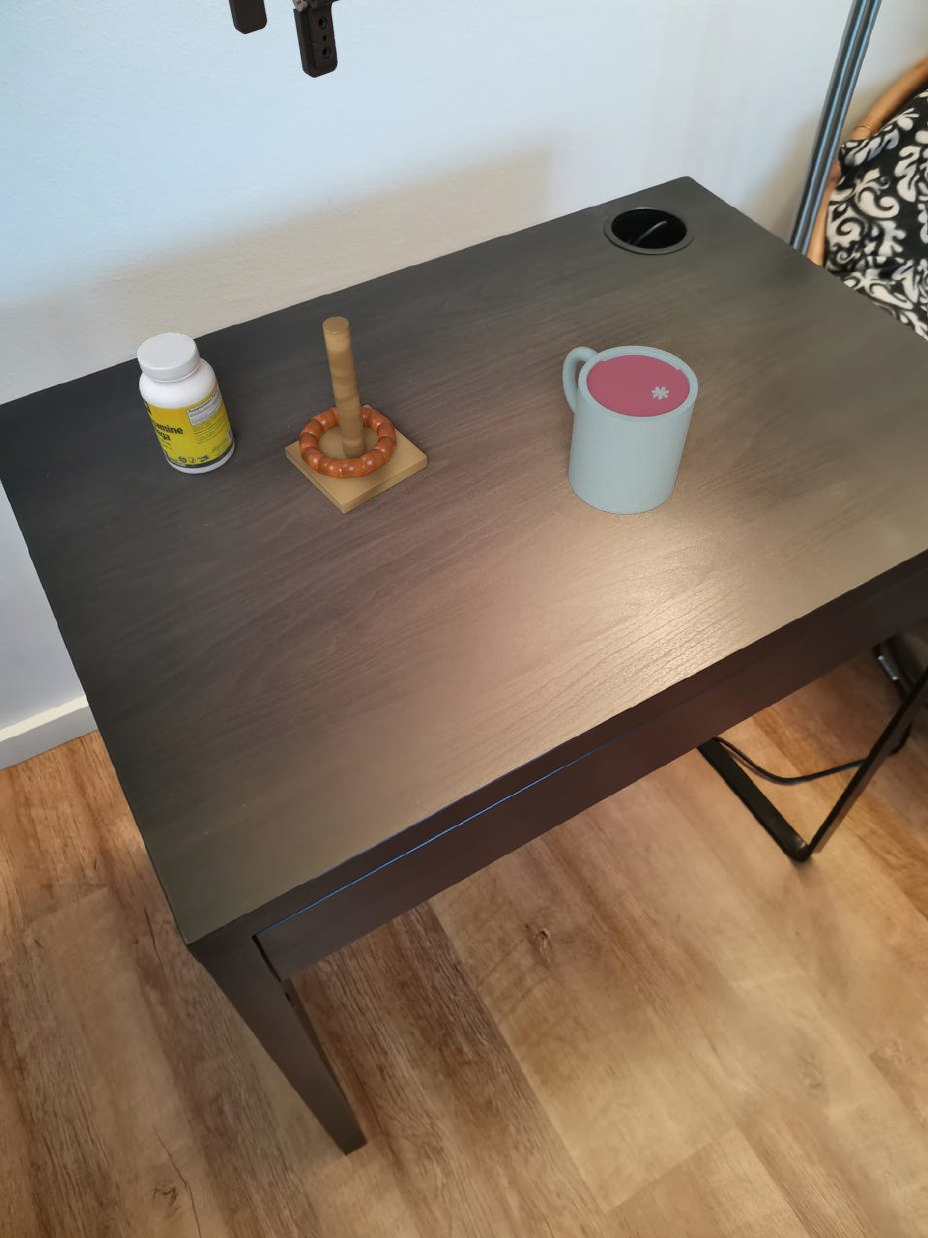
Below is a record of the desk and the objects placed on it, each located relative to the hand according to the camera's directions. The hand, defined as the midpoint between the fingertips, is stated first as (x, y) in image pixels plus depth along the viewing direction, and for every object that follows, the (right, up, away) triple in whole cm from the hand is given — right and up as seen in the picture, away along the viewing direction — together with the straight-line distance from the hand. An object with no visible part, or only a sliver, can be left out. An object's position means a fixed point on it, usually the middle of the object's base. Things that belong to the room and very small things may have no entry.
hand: (285, 50), depth 58 cm
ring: (+2, -22, +19) cm, 29 cm away
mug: (+24, -23, +20) cm, 39 cm away
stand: (+2, -23, +20) cm, 31 cm away
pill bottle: (-12, -22, +22) cm, 33 cm away
